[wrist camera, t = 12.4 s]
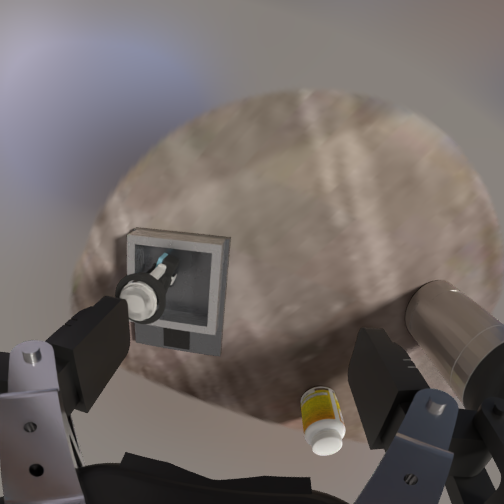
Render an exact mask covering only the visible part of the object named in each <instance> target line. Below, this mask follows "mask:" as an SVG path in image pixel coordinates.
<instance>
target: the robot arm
mask: <svg viewBox="0 0 504 504" xmlns="http://www.w3.org/2000/svg"><path fill="white" fill-rule="evenodd" d="M405 323H406V327H407V329H408V331H409V332H410V334H411V335H412V336H413V338H414V339H415V340H416V342H417V343H418V344H419V346H420V347H421V348H422V350H423V351H424V352H425V354H426V355H427V356H428V358H429V359H430V360H431V362H432V363H433V364H434V366H435V367H436V368H437V370H438V371H439V372H440V374H441V375H442V376H443V378H444V379H445V381H446V382H447V383H448V385H449V386H450V388H451V389H452V390H453V392H454V393H455V394H456V396H457V397H458V399H459V400H460V401H461V403H462V404H463V406H464V407H465V409H459V407H458V404H457V402H456V400H455V399H454V398H453V397H452V396H451V395H449V394H448V393H446V392H444V391H441V390H438V389H432V388H430V387H429V386H428V384H427V382H426V381H425V379H424V378H423V376H422V375H421V373H420V372H419V370H418V369H417V368H416V366H415V364H414V363H413V361H411V358H410V357H409V355H408V354H407V352H406V351H405V350H404V349H403V348H401V347H400V346H399V345H397V344H396V343H392V342H391V340H390V338H389V337H388V335H387V334H386V332H385V331H384V329H381V328H361V329H360V331H359V333H358V336H357V340H356V344H355V347H354V351H353V354H352V357H351V361H350V364H349V368H348V382H349V385H350V388H351V391H352V394H353V397H354V400H355V403H356V406H357V409H358V412H359V415H360V419H361V422H362V425H363V428H364V431H365V434H366V437H367V441H368V444H369V447H370V449H371V450H372V449H384V450H385V455H384V456H383V458H382V460H381V461H380V463H379V465H378V466H377V468H376V470H375V471H374V473H373V474H372V476H371V478H370V479H369V481H368V482H367V484H366V485H365V487H364V489H363V490H362V492H361V493H360V495H359V496H358V498H357V499H356V500H355V502H354V503H353V504H438V503H439V500H440V497H441V495H442V492H443V489H444V486H446V489H447V492H448V495H449V497H450V500H451V503H452V504H504V324H502V323H501V322H500V321H499V320H497V319H496V318H495V317H494V316H493V315H491V314H490V313H489V312H487V311H486V310H485V309H484V308H482V307H481V306H480V305H478V304H477V303H476V302H474V301H473V300H472V299H470V298H469V297H468V296H466V295H465V294H464V293H463V292H461V291H460V290H458V289H457V288H456V287H454V286H453V285H452V284H450V283H448V282H446V281H441V280H438V281H433V282H430V283H428V284H426V285H424V286H423V287H421V288H420V289H419V290H418V291H417V292H416V293H415V294H414V296H413V297H412V299H411V300H410V302H409V304H408V307H407V309H406V315H405ZM129 347H130V330H129V314H128V303H127V301H126V299H122V298H116V297H111V296H104V297H103V298H102V299H101V300H100V301H99V302H97V303H96V304H95V305H94V306H93V307H92V306H91V307H88V308H86V309H83V310H81V311H79V312H78V313H77V314H75V315H74V316H73V317H72V318H71V320H68V322H66V323H65V325H63V326H62V327H60V328H59V329H58V330H57V331H56V332H55V333H54V334H53V335H51V336H50V337H49V338H48V339H47V340H46V341H45V342H44V341H40V340H30V341H25V342H22V343H20V344H18V345H16V346H15V347H14V348H13V349H12V350H11V352H10V353H6V352H0V467H1V478H2V487H3V495H4V496H3V497H0V504H349V503H347V502H345V501H343V500H341V499H339V498H337V497H335V496H332V495H329V494H327V493H323V492H320V491H316V490H312V489H311V480H310V477H276V476H259V477H250V478H240V479H228V480H212V479H209V478H206V477H204V476H201V475H198V474H195V473H193V472H190V471H187V470H185V469H183V468H180V467H178V466H175V465H173V464H171V463H168V462H163V461H159V460H155V459H150V458H146V457H142V456H138V455H135V454H131V453H127V452H125V455H124V457H123V459H122V461H121V463H102V464H94V465H88V466H86V465H85V462H84V459H83V456H82V453H81V449H80V446H79V443H78V439H77V435H76V432H75V428H74V424H73V420H72V417H71V413H72V411H73V410H74V409H76V410H80V411H82V412H85V413H88V412H89V410H90V409H91V407H92V406H93V404H94V403H95V401H96V400H97V398H98V397H99V395H100V394H101V392H102V391H103V389H104V388H105V386H106V385H107V383H108V382H109V380H110V379H111V377H112V376H113V374H114V373H115V371H116V370H117V369H118V367H119V366H120V364H121V363H122V361H123V360H124V358H125V357H126V355H127V353H128V351H129ZM492 457H493V459H494V461H495V463H496V465H497V467H498V469H499V471H500V473H501V482H500V485H499V487H498V489H497V490H495V488H494V486H493V484H492V482H491V480H490V477H489V475H488V473H487V471H486V469H485V466H486V465H487V463H488V462H489V461H490V459H491V458H492Z"/></svg>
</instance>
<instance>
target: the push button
mask: <svg viewBox="0 0 504 504" xmlns="http://www.w3.org/2000/svg"><path fill="white" fill-rule="evenodd" d="M179 262H180V259H178V258H175V257H173V256H171V255H169V254H167V253H164V254H163V255H162V256H161V257H159V259H158V261H157V264H156V263H154V264H153V265H152V268H150V269H149V270H148V271H147V272H146V273H145V272H138V273H133V274H129V275H127V276H125V277H124V278H123V279H122V280H121V281H120V282H119V283H118V285H117V288H116V293H115V296H116V298H122V299H126V301H127V303H128V314H129V319H130V320H131V321H133V322H135V323H139V324H151V323H153V322H155V321H157V320H158V319H159V318H160V317H161V316H162V314H163V313H164V310H165V306H166V293H167V291H168V288H169V286H170V285H172V284H173V282H174V281H175V278H176V276H177V274H176V275H175V276H174V277H172V274H173V272H174V271H175V269H176V268H177V267H178V265H179ZM132 280H134V281H133V282H132V283H129V284H128V282H129V281H132ZM158 304H159V308H158V310H157V311H156V309H157V305H158Z"/></svg>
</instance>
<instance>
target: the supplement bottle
mask: <svg viewBox="0 0 504 504" xmlns="http://www.w3.org/2000/svg"><path fill="white" fill-rule="evenodd" d="M300 404H301V413H302V421H303V429H304V437H305V440H306V442H307V443H308V444H310V445H311V446H312V450H313V452H314V453H316V454H317V455H322V456H325V455H331V454H334V453H336V452H337V451H339V449H341V447H342V438H343V437H344V435H345V425H344V422H343V418H342V414H341V410H340V407H339V403H338V399H337V396H336V394H335V392H334V391H333V390H332V389H330V388H328V387H322V386H320V387H314V388H312V389H310V390H308V391H307V392H305V393H304V395H303V396H302V398H301V402H300Z"/></svg>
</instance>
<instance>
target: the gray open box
mask: <svg viewBox="0 0 504 504" xmlns="http://www.w3.org/2000/svg"><path fill="white" fill-rule="evenodd" d="M230 242H231V237H223V236H214V235H205V234H196V233H186V232H177V231H167V230H158V229H148V228H139V227H136V228H134V229H133V232H131V233H129V234H127V275H129V274H133V273H138V272H145V273H146V272H147V271H148V270H149V269H150V268H152V265H153V264H154V263H156V264H157V261H158V259H159V257H161V256H162V255H163V254H164V253H167V254H169V255H171V256H173V257H175V258H178V259H180V262H179V265H178V267H177V268H176V269H175V271H174V272H173V274H172V277H174V276H175V275H176V274H177V276H176V278H175V281H174V282H173V284H172V285H170V286H169V288H168V291H167V293H166V306H165V310H164V313H163V314H162V316H161V317H160V318H159V319H158V320H157V321H155V322H153V323H151V324H139V323H135V338H136V342H137V343H142V344H147V345H152V346H157V347H163V348H168V349H174V350H180V351H186V352H193V353H199V354H206V355H213V356H220V355H221V349H222V336H223V323H224V311H225V299H226V287H227V275H228V264H229V253H230ZM133 281H134V280H132V281H129V282H128V284H129V283H132V282H133ZM158 308H159V304H158V305H157V309H156V311H157V310H158ZM129 321H130V322H133V321H131V320H130V319H129Z"/></svg>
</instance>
